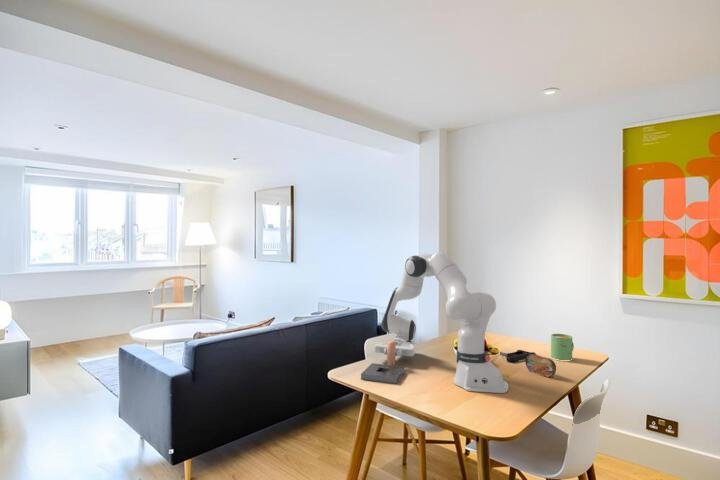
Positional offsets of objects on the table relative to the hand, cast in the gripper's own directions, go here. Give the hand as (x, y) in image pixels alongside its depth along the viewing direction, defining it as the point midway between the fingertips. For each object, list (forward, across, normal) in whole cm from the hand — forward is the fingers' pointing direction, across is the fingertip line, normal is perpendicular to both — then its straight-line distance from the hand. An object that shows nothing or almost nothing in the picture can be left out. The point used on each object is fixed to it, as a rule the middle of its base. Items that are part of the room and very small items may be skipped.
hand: (390, 353), depth 192 cm
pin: (-1, 0, +6) cm, 7 cm away
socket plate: (+13, 0, +6) cm, 15 cm away
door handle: (-40, +57, +7) cm, 70 cm away
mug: (-47, +82, +7) cm, 95 cm away
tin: (-16, +68, +7) cm, 70 cm away
